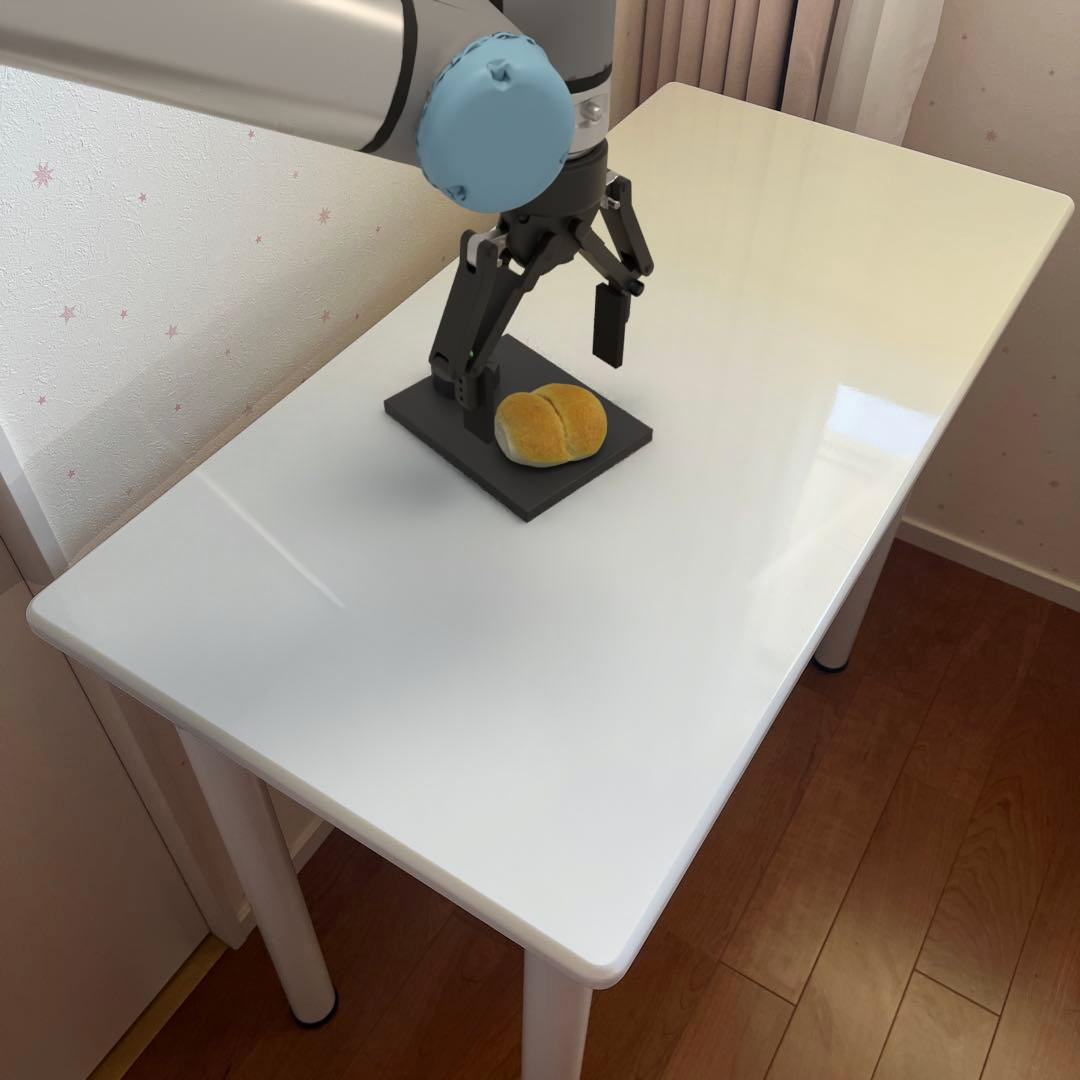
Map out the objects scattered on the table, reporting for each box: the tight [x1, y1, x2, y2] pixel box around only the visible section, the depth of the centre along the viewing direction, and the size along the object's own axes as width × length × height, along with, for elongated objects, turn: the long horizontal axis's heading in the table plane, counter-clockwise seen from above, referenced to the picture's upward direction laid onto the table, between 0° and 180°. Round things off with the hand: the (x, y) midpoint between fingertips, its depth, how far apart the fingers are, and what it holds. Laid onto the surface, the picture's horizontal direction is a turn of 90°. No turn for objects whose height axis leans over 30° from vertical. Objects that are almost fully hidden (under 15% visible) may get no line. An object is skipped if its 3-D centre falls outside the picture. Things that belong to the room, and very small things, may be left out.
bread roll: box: [495, 383, 607, 467], centre depth 88 cm, size 8×9×4 cm
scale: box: [383, 332, 654, 523], centre depth 91 cm, size 18×14×3 cm
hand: (545, 395), depth 86 cm, fingers open, 13 cm apart
